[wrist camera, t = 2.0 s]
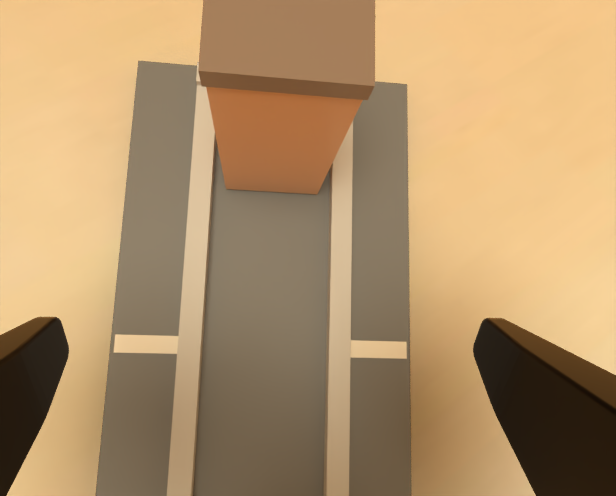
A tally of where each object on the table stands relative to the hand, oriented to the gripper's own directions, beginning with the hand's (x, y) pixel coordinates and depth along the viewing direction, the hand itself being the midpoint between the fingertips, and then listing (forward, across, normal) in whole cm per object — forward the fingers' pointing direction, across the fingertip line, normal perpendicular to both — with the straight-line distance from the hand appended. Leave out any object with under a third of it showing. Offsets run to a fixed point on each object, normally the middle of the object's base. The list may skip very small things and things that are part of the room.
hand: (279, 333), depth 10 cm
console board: (+10, 0, -8) cm, 13 cm away
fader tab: (+14, 0, -2) cm, 15 cm away
